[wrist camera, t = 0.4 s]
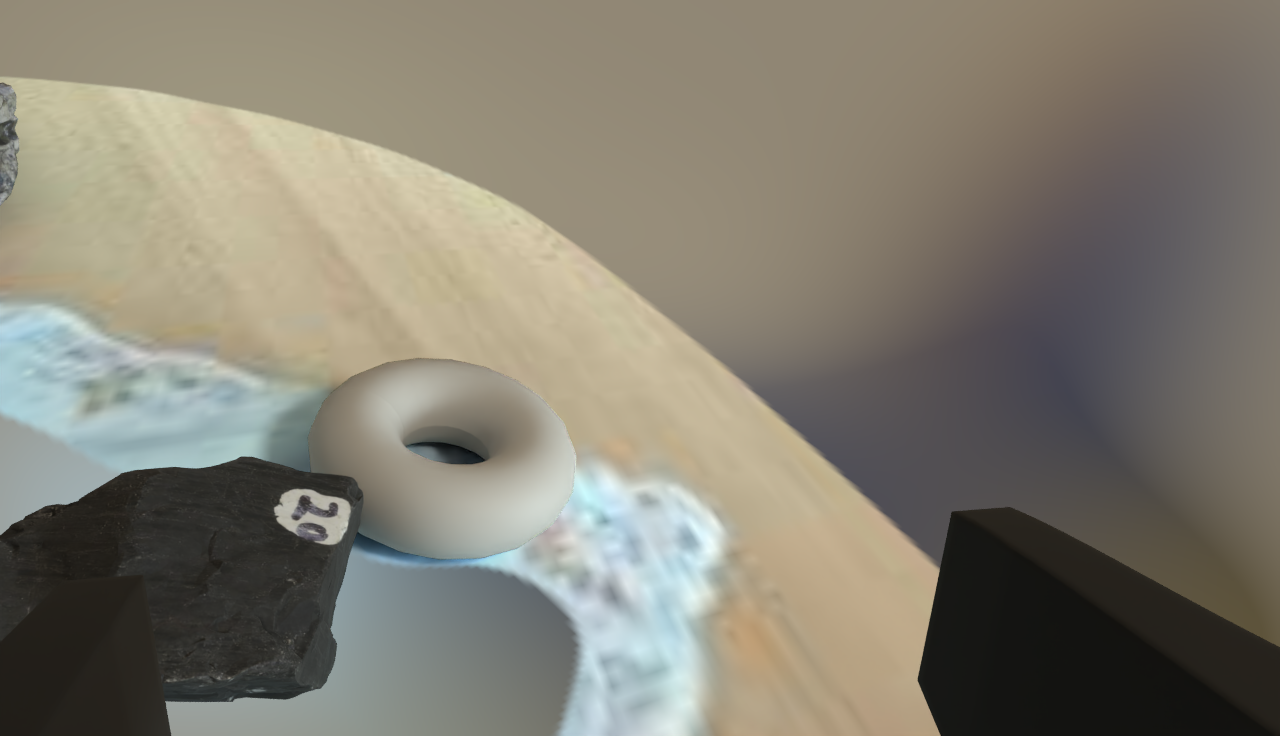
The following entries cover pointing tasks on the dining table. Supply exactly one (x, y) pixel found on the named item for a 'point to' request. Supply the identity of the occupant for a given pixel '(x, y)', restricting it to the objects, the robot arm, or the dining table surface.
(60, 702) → the robot arm
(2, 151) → the brown rock
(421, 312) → the dining table surface
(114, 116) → the dining table surface
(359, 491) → the mineral
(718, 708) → the dining table surface
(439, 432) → the donut
